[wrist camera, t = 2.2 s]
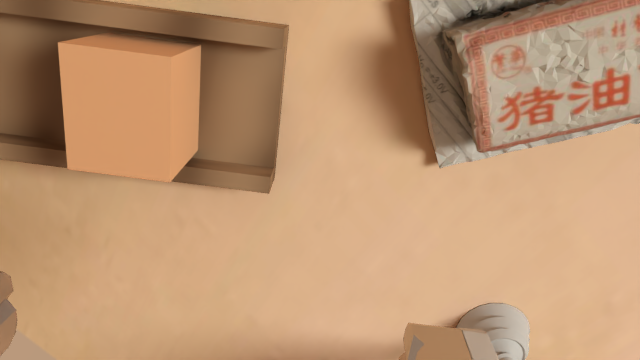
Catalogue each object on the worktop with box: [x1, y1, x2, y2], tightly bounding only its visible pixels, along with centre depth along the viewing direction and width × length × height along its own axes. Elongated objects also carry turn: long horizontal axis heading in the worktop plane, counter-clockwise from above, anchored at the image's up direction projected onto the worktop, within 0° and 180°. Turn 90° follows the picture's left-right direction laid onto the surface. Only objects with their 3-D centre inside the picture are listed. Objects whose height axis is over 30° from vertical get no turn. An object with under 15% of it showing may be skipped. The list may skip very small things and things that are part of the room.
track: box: [0, 0, 289, 194], centre depth 27 cm, size 26×9×2 cm, turn 83°
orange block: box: [58, 33, 201, 182], centre depth 25 cm, size 5×6×5 cm
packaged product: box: [409, 0, 640, 168], centre depth 24 cm, size 18×5×10 cm
